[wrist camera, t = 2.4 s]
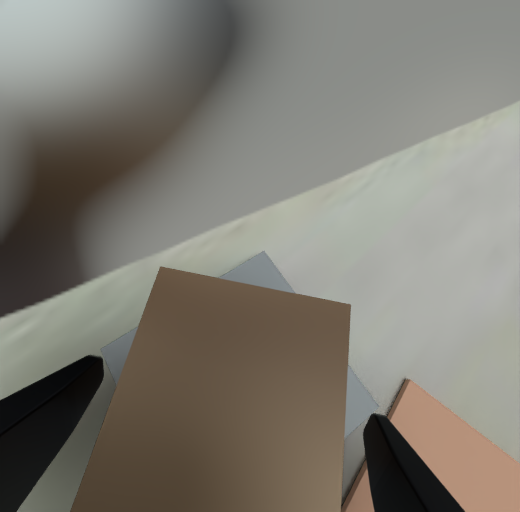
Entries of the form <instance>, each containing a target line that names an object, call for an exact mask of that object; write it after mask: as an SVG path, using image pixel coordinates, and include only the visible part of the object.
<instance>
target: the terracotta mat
mask: <svg viewBox="0 0 520 512" xmlns="http://www.w3.org/2000/svg"><path fill="white" fill-rule="evenodd" d="M387 418H388V419H389V420H390V421H391V422H392V424H393V425H394V426H395V427H396V428H397V430H398V431H399V432H400V433H401V435H402V436H403V437H404V438H405V439H406V441H407V442H408V443H409V444H410V445H411V447H412V448H413V449H414V450H415V451H416V453H417V454H418V455H419V456H420V457H421V459H422V460H423V461H424V462H425V463H426V465H427V466H428V467H429V468H430V469H431V471H432V472H433V473H434V474H435V475H436V477H437V478H438V479H439V480H440V482H441V483H442V484H443V485H444V486H445V488H446V489H447V490H448V491H449V492H450V494H451V495H452V496H453V497H454V498H455V500H456V501H457V502H458V503H459V504H460V506H461V507H462V508H463V509H464V510H465V512H520V464H519V463H518V462H517V461H516V460H514V459H513V458H512V457H510V456H509V455H508V454H506V453H505V452H504V451H503V450H501V449H500V448H499V447H497V446H496V445H495V444H493V443H492V442H491V441H490V440H488V439H487V438H486V437H484V436H483V435H482V434H480V433H479V432H478V431H477V430H475V429H474V428H473V427H471V426H470V425H469V424H467V423H466V422H465V421H464V420H462V419H461V418H460V417H458V416H457V415H456V414H454V413H453V412H452V411H451V410H449V409H448V408H447V407H445V406H444V405H443V404H441V403H440V402H439V401H438V400H436V399H435V398H434V397H432V396H431V395H430V394H428V393H427V392H426V391H425V390H423V389H422V388H421V387H419V386H418V385H417V384H415V383H414V382H413V381H412V380H408V379H406V380H405V382H404V384H403V386H402V388H401V390H400V392H399V394H398V396H397V398H396V400H395V402H394V404H393V406H392V408H391V410H390V412H389V414H388V416H387ZM341 512H375V511H374V507H373V502H372V497H371V491H370V485H369V477H368V470H367V462H366V460H365V462H364V464H363V466H362V468H361V470H360V472H359V474H358V476H357V478H356V480H355V482H354V484H353V486H352V488H351V490H350V492H349V494H348V496H347V498H346V500H345V502H344V504H343V506H342V508H341Z"/></svg>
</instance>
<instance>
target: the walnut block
mask: <svg viewBox="0 0 520 512" xmlns="http://www.w3.org/2000/svg"><path fill="white" fill-rule="evenodd" d="M350 311H351V305H350V304H345V303H340V302H335V301H330V300H325V299H320V298H315V297H310V296H305V295H300V294H295V293H290V292H285V291H280V290H275V289H270V288H265V287H260V286H255V285H250V284H245V283H240V282H235V281H230V280H225V279H220V278H215V277H210V276H205V275H200V274H195V273H190V272H185V271H180V270H175V269H170V268H165V267H160V269H159V271H158V274H157V277H156V280H155V282H154V285H153V288H152V290H151V293H150V296H149V299H148V301H147V304H146V307H145V310H144V312H143V315H142V318H141V320H140V323H139V326H138V329H137V331H136V334H135V337H134V339H133V342H132V345H131V348H130V350H129V353H128V356H127V359H126V361H125V364H124V367H123V369H122V372H121V375H120V378H119V380H118V383H117V386H116V389H115V391H114V394H113V397H112V399H111V402H110V405H109V408H108V410H107V413H106V416H105V419H104V421H103V424H102V427H101V429H100V432H99V435H98V438H97V440H96V443H95V446H94V448H93V451H92V454H91V457H90V459H89V462H88V465H87V468H86V470H85V473H84V476H83V478H82V481H81V484H80V487H79V489H78V492H77V495H76V498H75V500H74V503H73V506H72V508H71V511H70V512H341V498H342V477H343V457H344V436H345V415H346V394H347V373H348V352H349V332H350Z"/></svg>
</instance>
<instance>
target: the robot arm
mask: <svg viewBox="0 0 520 512" xmlns="http://www.w3.org/2000/svg"><path fill="white" fill-rule="evenodd" d="M103 377H104V369H103V359H102V357H99V356H94V355H88V356H85V357H83V358H81V359H80V360H78V361H76V362H74V363H72V364H70V365H68V366H66V367H64V368H62V369H60V370H58V371H56V372H54V373H52V374H50V375H48V376H47V377H45V378H43V379H41V380H39V381H37V382H35V383H33V384H31V385H29V386H27V387H25V388H23V389H21V390H19V391H17V392H15V393H14V394H12V395H10V396H8V397H6V398H4V399H2V400H0V512H16V511H17V510H18V509H19V507H20V506H21V504H22V503H23V501H24V500H25V499H26V497H27V496H28V494H29V493H30V492H31V490H32V489H33V487H34V486H35V485H36V483H37V482H38V480H39V479H40V477H41V476H42V475H43V473H44V472H45V470H46V469H47V468H48V466H49V465H50V463H51V462H52V461H53V459H54V458H55V456H56V455H57V453H58V452H59V451H60V449H61V448H62V446H63V445H64V444H65V442H66V441H67V439H68V438H69V436H70V435H71V433H72V432H73V430H74V429H75V427H76V426H77V424H78V422H79V421H80V419H81V417H82V415H83V414H84V412H85V410H86V409H87V407H88V405H89V403H90V402H91V400H92V398H93V397H94V395H95V393H96V391H97V390H98V388H99V386H100V385H101V383H102V381H103ZM363 439H364V446H365V454H366V462H367V470H368V477H369V485H370V491H371V497H372V502H373V507H374V511H375V512H465V510H464V509H463V508H462V507H461V506H460V504H459V503H458V502H457V501H456V500H455V498H454V497H453V496H452V495H451V494H450V492H449V491H448V490H447V489H446V488H445V486H444V485H443V484H442V483H441V482H440V480H439V479H438V478H437V477H436V475H435V474H434V473H433V472H432V471H431V469H430V468H429V467H428V466H427V465H426V463H425V462H424V461H423V460H422V459H421V457H420V456H419V455H418V454H417V453H416V451H415V450H414V449H413V448H412V447H411V445H410V444H409V443H408V442H407V441H406V439H405V438H404V437H403V436H402V435H401V433H400V432H399V431H398V430H397V428H396V427H395V426H394V425H393V424H392V422H391V421H390V420H389V419H388V418H387V417H386V416H384V415H380V414H376V413H373V414H371V416H370V418H369V420H368V422H367V424H366V426H365V428H364V432H363Z"/></svg>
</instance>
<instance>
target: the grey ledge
mask: <svg viewBox="0 0 520 512" xmlns="http://www.w3.org/2000/svg"><path fill="white" fill-rule="evenodd" d="M220 279H225V280H230V281H235V282H240V283H245V284H250V285H255V286H260V287H265V288H270V289H275V290H280V291H285V292H290V293H295V292H294V291H293V289H292V288H291V286H290V285H289V284H288V282H287V281H286V280H285V278H284V277H283V276H282V274H281V273H280V272H279V270H278V269H277V268H276V266H275V265H274V264H273V262H272V261H271V259H270V258H269V257H268V255H267V254H266V253H265V251H263V252H261V253H260V254H258V255H256V256H255V257H253V258H251V259H250V260H248V261H246V262H245V263H243V264H241V265H240V266H238V267H236V268H235V269H233V270H231V271H230V272H228V273H226V274H225V275H223V276H221V277H220ZM295 294H296V293H295ZM137 329H138V327H136V328H135V329H133V330H131V331H130V332H128V333H126V334H125V335H123V336H121V337H120V338H118V339H116V340H115V341H113V342H111V343H110V344H108V345H106V346H105V347H103V348H101V351H102V354H103V356H104V358H105V361H106V363H107V365H108V367H109V370H110V372H111V374H112V376H113V379H114V381H115V383H116V386H117V383H118V380H119V378H120V375H121V372H122V369H123V367H124V364H125V361H126V359H127V356H128V353H129V350H130V348H131V345H132V342H133V339H134V337H135V334H136V331H137ZM378 407H379V405H378V404H377V403H376V401H375V400H374V399H373V397H372V396H371V395H370V393H369V392H368V390H367V389H366V388H365V386H364V385H363V384H362V382H361V381H360V380H359V378H358V377H357V376H356V374H355V373H354V372H353V370H352V369H351V368H350V366H349V365H348V373H347V394H346V415H345V436H344V439H345V438H346V437H347V436H348V435H349V434H350V433H351V432H352V431H354V430H355V429H356V428H357V427H358V426H359V425H360V424H361V423H362V422H363V421H364V420H365V419H366V418H367V417H369V416H370V415H371V414H372V413H373V412H374V411H375V410H376V409H377V408H378Z"/></svg>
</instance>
